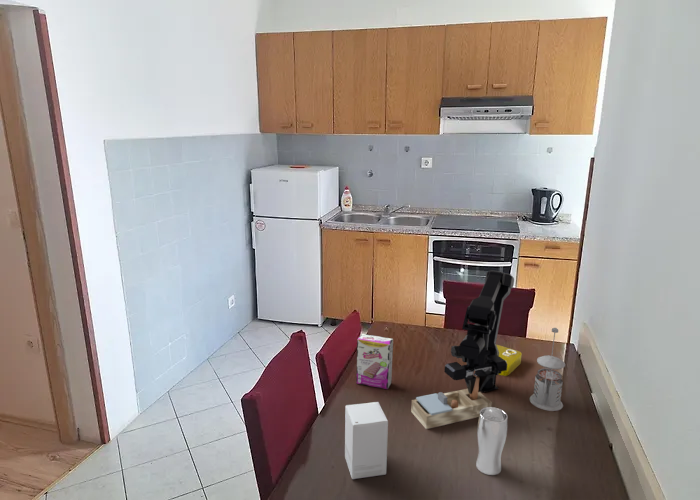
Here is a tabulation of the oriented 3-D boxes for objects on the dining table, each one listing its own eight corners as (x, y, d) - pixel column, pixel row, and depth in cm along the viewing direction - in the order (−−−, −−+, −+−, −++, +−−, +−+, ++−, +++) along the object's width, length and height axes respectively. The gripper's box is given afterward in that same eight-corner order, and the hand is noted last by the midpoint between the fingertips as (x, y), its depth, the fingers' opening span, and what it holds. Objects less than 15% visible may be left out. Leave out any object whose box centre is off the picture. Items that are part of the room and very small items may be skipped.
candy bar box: (355, 384, 157) (356, 338, 153) (360, 377, 162) (361, 332, 158) (388, 390, 154) (389, 344, 150) (392, 383, 158) (393, 337, 154)
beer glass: (470, 458, 122) (474, 406, 118) (496, 457, 122) (501, 405, 119) (479, 477, 115) (484, 423, 111) (507, 476, 116) (513, 422, 112)
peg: (474, 395, 145) (476, 375, 143) (479, 399, 143) (481, 378, 141) (467, 397, 144) (469, 376, 142) (472, 401, 142) (474, 380, 140)
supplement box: (387, 475, 115) (389, 421, 112) (351, 480, 114) (352, 425, 110) (377, 451, 124) (379, 400, 120) (344, 455, 122) (344, 404, 119)
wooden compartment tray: (473, 398, 149) (473, 387, 148) (490, 414, 141) (491, 402, 140) (411, 411, 142) (411, 400, 141) (426, 429, 134) (426, 416, 133)
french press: (563, 398, 150) (573, 325, 144) (562, 417, 140) (573, 339, 134) (530, 390, 154) (538, 319, 148) (527, 409, 144) (536, 333, 138)
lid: (436, 394, 144) (436, 387, 143) (452, 410, 136) (452, 402, 135) (416, 399, 141) (416, 391, 141) (431, 415, 133) (431, 407, 133)
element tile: (484, 350, 184) (485, 339, 182) (522, 362, 174) (523, 350, 173) (466, 364, 172) (467, 352, 171) (506, 378, 163) (507, 365, 162)
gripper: (487, 330, 150) (483, 374, 154) (436, 338, 143) (433, 384, 147) (510, 344, 140) (505, 392, 143) (456, 354, 133) (453, 403, 137)
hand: (474, 392), depth 143 cm, fingers closed on peg, 2 cm apart
